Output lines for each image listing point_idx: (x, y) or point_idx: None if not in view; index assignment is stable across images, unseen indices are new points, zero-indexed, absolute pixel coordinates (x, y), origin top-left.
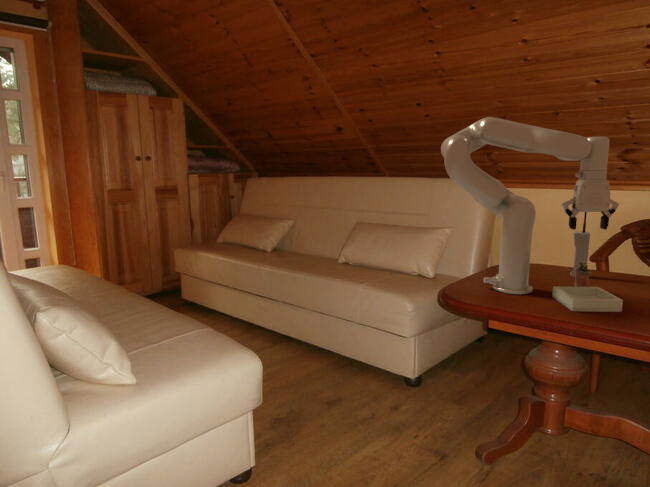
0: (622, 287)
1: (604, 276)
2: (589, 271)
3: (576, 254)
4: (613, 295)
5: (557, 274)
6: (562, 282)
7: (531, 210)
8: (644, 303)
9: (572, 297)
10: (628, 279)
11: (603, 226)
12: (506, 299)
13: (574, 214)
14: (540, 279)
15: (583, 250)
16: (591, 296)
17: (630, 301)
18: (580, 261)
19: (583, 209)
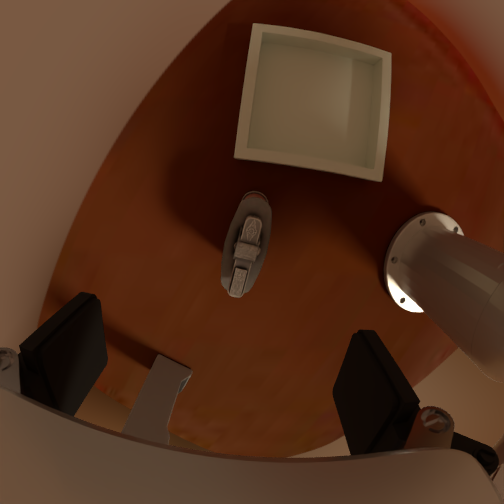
0: (106, 257)
1: (107, 355)
2: (236, 214)
3: (169, 411)
4: (249, 63)
5: (217, 389)
6: (248, 322)
7: None
8: (140, 103)
9: (384, 67)
10: None
11: (92, 325)
12: (472, 182)
13: (433, 432)
14: (295, 353)
15: (146, 413)
16: (270, 138)
17: (164, 119)
18: (244, 279)
19: (425, 472)
